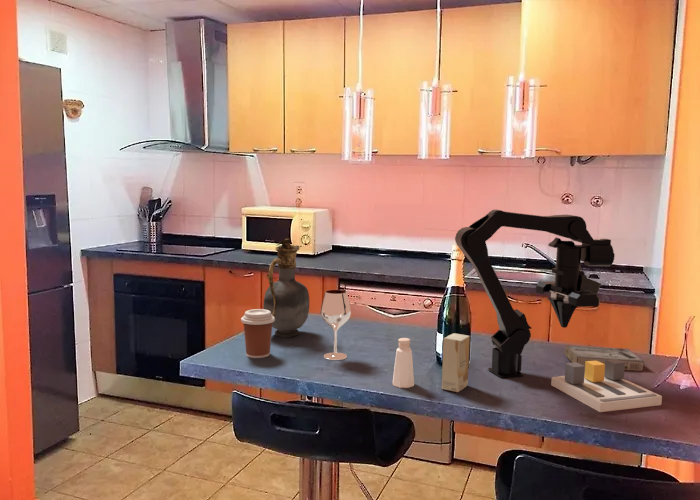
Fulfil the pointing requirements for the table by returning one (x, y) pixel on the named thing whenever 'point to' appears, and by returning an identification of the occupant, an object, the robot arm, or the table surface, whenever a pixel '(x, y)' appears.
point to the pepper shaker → (403, 365)
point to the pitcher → (286, 293)
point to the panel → (605, 388)
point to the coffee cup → (257, 332)
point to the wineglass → (335, 316)
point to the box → (603, 356)
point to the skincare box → (455, 362)
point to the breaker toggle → (594, 371)
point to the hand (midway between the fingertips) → (564, 327)
